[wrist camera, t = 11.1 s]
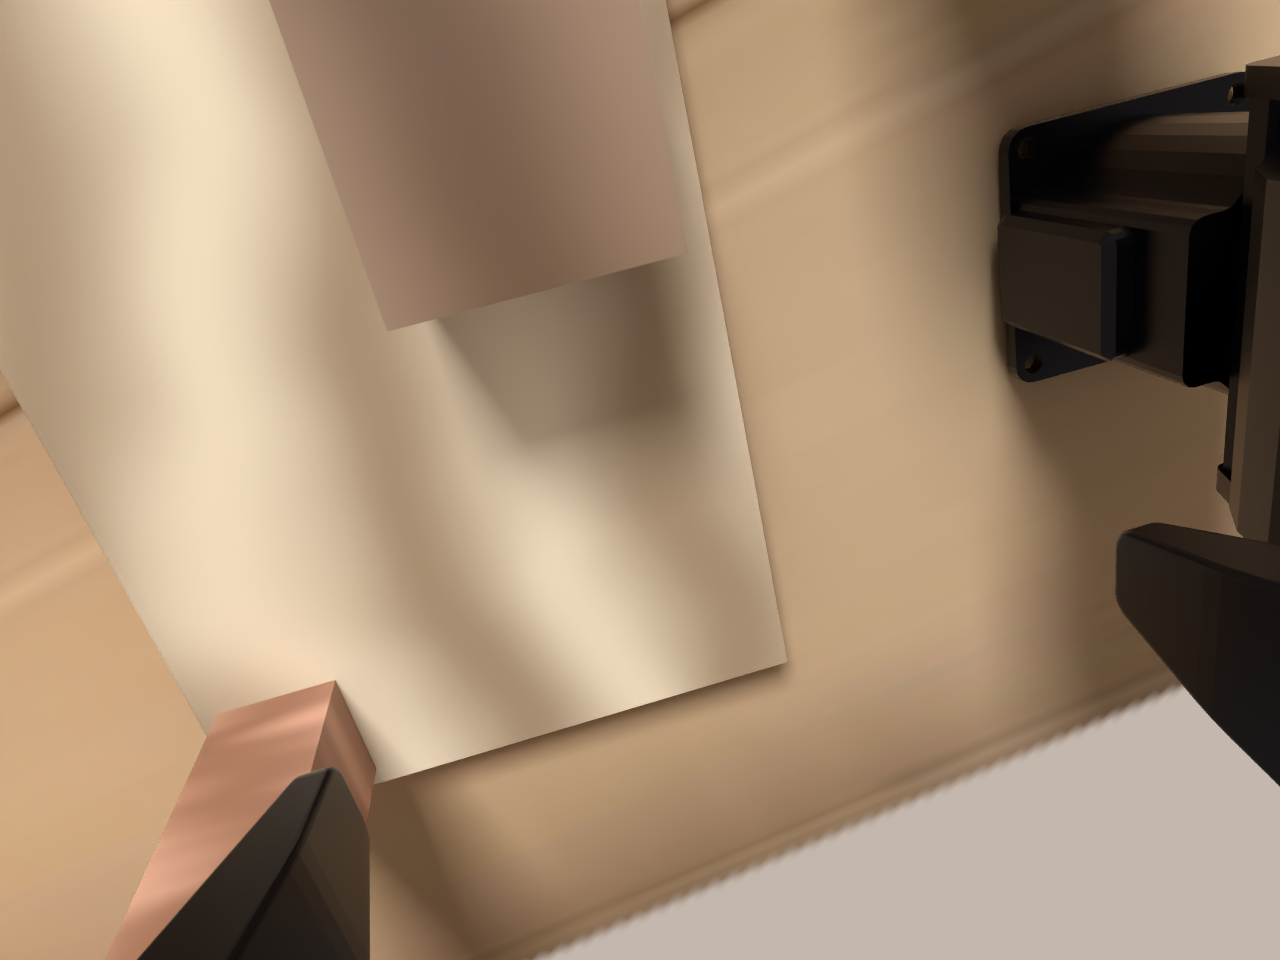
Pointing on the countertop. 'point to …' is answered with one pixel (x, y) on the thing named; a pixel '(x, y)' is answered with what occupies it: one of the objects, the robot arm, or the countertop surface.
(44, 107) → the board with upright post
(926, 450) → the countertop surface
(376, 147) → the walnut cube
